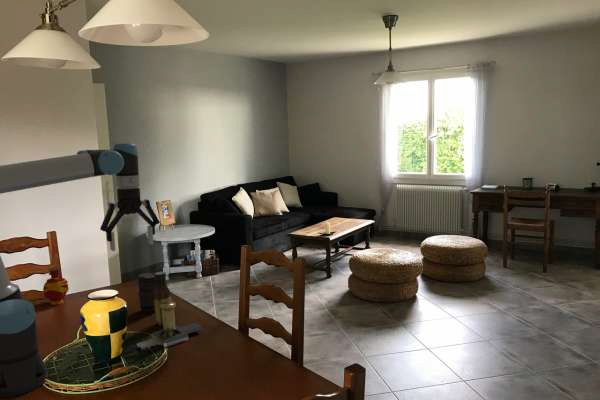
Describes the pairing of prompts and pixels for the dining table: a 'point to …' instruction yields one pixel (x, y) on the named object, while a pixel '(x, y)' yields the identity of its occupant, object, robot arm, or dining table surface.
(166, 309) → the pin
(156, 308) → the sauce bottle
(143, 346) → the dark grey flat piece
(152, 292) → the camera lens
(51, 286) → the potion bottle
